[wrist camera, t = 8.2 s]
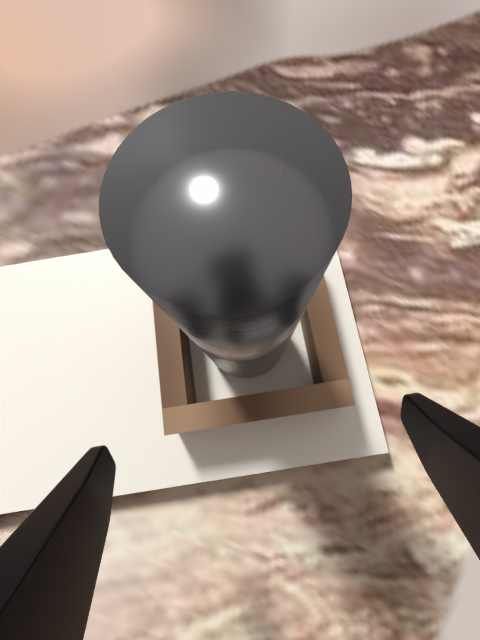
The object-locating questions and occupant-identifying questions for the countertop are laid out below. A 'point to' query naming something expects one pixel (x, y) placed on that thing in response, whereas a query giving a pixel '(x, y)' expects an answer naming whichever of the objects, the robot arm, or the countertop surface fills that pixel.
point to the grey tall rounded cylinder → (228, 220)
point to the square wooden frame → (322, 395)
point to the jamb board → (146, 389)
